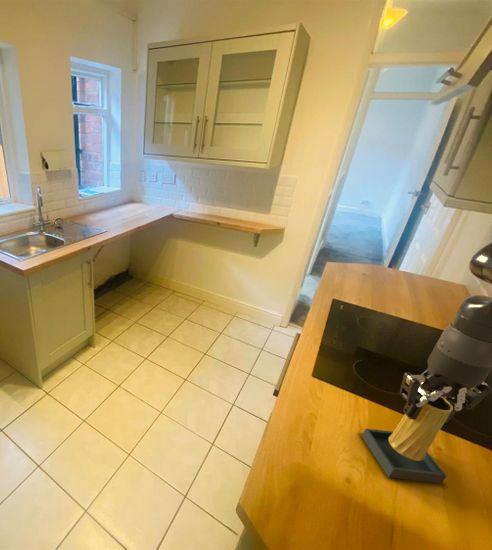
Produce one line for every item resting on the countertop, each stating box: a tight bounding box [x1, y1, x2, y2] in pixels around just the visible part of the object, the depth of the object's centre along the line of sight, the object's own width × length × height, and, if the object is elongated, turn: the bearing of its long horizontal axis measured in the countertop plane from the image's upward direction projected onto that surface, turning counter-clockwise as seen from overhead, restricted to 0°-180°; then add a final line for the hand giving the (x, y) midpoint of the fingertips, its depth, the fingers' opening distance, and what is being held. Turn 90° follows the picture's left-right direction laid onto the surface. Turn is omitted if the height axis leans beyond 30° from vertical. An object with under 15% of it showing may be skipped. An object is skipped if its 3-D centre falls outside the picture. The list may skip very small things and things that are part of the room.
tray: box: [361, 428, 448, 484], centre depth 67 cm, size 10×10×3 cm
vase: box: [389, 390, 453, 461], centre depth 63 cm, size 6×6×14 cm
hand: (424, 417), depth 62 cm, fingers closed on vase, 5 cm apart
